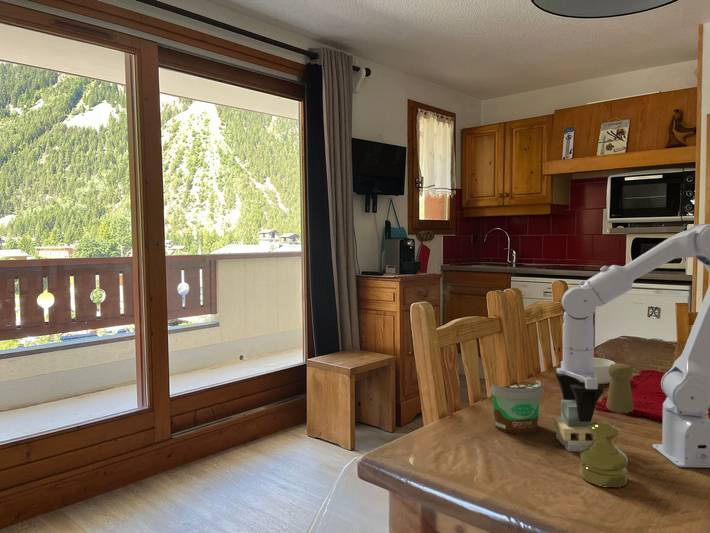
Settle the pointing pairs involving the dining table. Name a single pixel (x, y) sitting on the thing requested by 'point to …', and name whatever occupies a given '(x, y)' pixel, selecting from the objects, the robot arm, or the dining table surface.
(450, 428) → the dining table surface
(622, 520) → the dining table surface
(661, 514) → the dining table surface
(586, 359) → the robot arm
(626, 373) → the cork
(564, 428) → the stacked blocks
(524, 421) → the food container
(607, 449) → the olive shiny rounded piece
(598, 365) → the saucepan
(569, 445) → the dock
